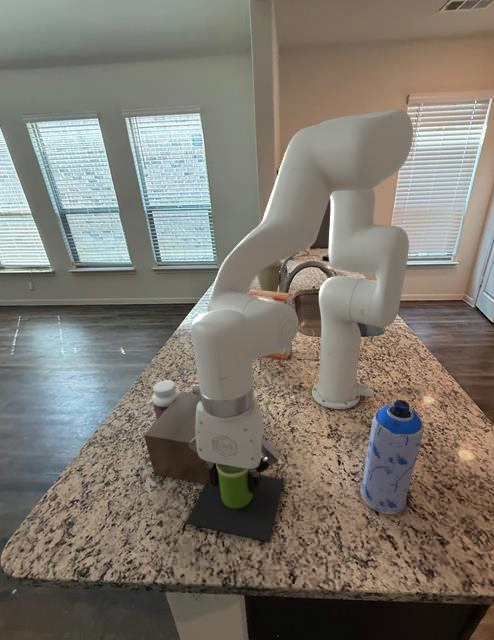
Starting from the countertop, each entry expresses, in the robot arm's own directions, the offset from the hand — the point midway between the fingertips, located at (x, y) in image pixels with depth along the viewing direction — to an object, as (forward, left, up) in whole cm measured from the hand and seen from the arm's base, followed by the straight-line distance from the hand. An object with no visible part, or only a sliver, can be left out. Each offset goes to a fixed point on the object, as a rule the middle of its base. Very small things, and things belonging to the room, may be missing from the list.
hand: (236, 482), depth 53 cm
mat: (0, 0, -5) cm, 5 cm away
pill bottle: (+22, -16, -5) cm, 28 cm away
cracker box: (+8, -56, -5) cm, 57 cm away
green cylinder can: (0, 0, -3) cm, 3 cm away
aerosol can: (-25, -7, -5) cm, 26 cm away
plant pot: (+25, -124, -5) cm, 126 cm away
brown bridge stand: (+12, -9, -5) cm, 16 cm away
